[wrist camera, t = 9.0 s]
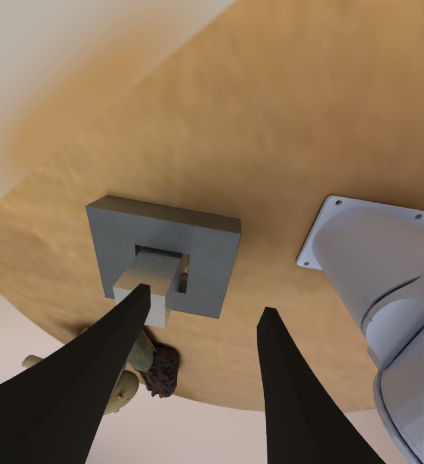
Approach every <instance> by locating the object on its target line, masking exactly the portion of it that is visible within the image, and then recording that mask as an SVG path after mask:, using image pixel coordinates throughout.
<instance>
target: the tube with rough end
mask: <svg viewBox="0 0 424 464" xmlns="http://www.w3.org/2000/svg"><path fill="white" fill-rule="evenodd" d="M126 361H127V362H128V363H129V364H130V365H131V366H132V367H133V368H134V369H135V370H136V371H138V372H140V374H141V376H142V378H143V380H144V381H145V384H146V388H147V390H148V391H152V394H151V395H152V397H153V396H155V395H156V394H159V397H160V398H163V397H169V396H170V395H172V393H173V392H174V390H175V388H176V386H177V375H178V368H179V363H180V361H179V357H178V355H177V353H176V352H175V351H174V350H173V349H171V348H167V347H164V348H162V347H159V346H158V347H157V346H156V347H154V345H153V344H152V342H151V341H150V340H149V338H148V337H147V335H146V334H145V332H144V331H143V329H142V330H141V332H140V334H139V336H138V338H137V340H136V342H135V343H134V345H133V347H132V349H131V351H130V353H129V355H128V357H127V359H126Z"/></svg>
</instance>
